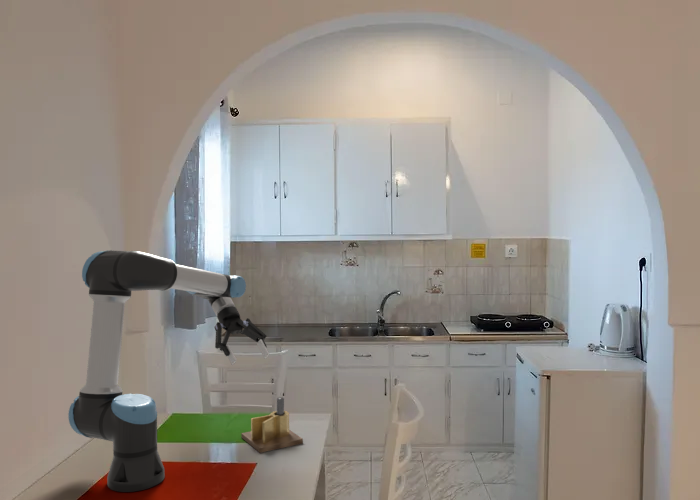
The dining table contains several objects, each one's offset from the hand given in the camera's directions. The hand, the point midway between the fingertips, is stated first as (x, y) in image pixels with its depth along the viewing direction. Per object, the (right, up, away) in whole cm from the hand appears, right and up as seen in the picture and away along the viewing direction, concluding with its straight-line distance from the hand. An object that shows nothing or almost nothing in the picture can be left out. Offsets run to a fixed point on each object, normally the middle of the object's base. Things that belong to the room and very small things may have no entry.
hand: (251, 359), depth 206 cm
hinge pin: (+11, -24, -7) cm, 27 cm away
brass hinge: (+9, -24, -10) cm, 27 cm away
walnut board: (+8, -25, -8) cm, 28 cm away
